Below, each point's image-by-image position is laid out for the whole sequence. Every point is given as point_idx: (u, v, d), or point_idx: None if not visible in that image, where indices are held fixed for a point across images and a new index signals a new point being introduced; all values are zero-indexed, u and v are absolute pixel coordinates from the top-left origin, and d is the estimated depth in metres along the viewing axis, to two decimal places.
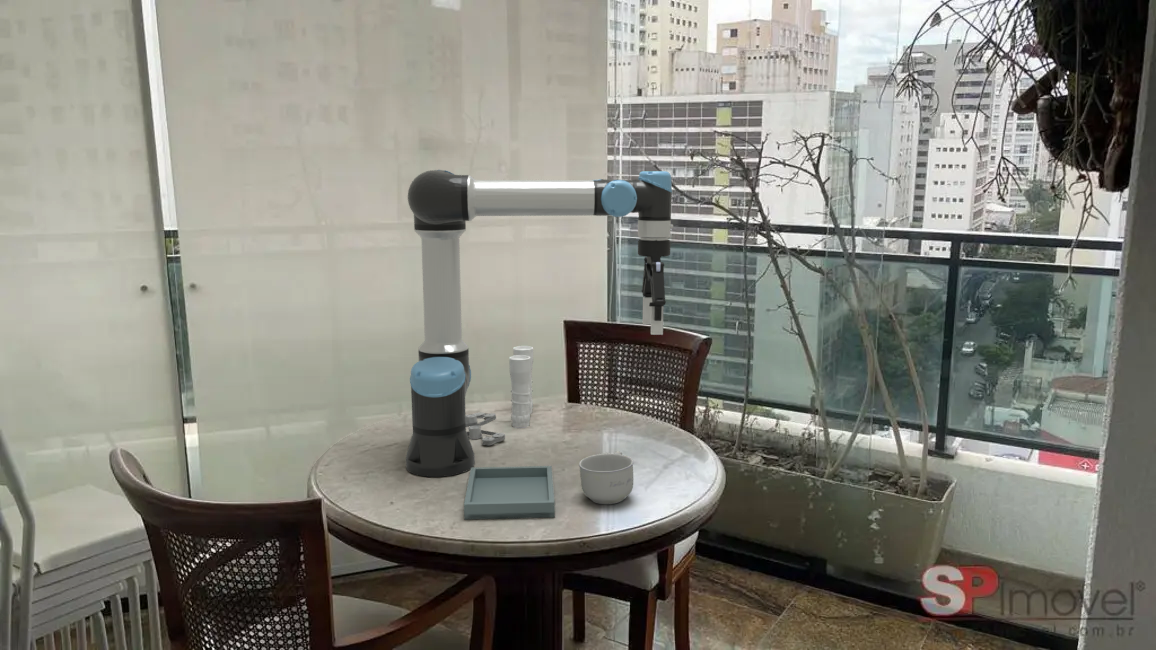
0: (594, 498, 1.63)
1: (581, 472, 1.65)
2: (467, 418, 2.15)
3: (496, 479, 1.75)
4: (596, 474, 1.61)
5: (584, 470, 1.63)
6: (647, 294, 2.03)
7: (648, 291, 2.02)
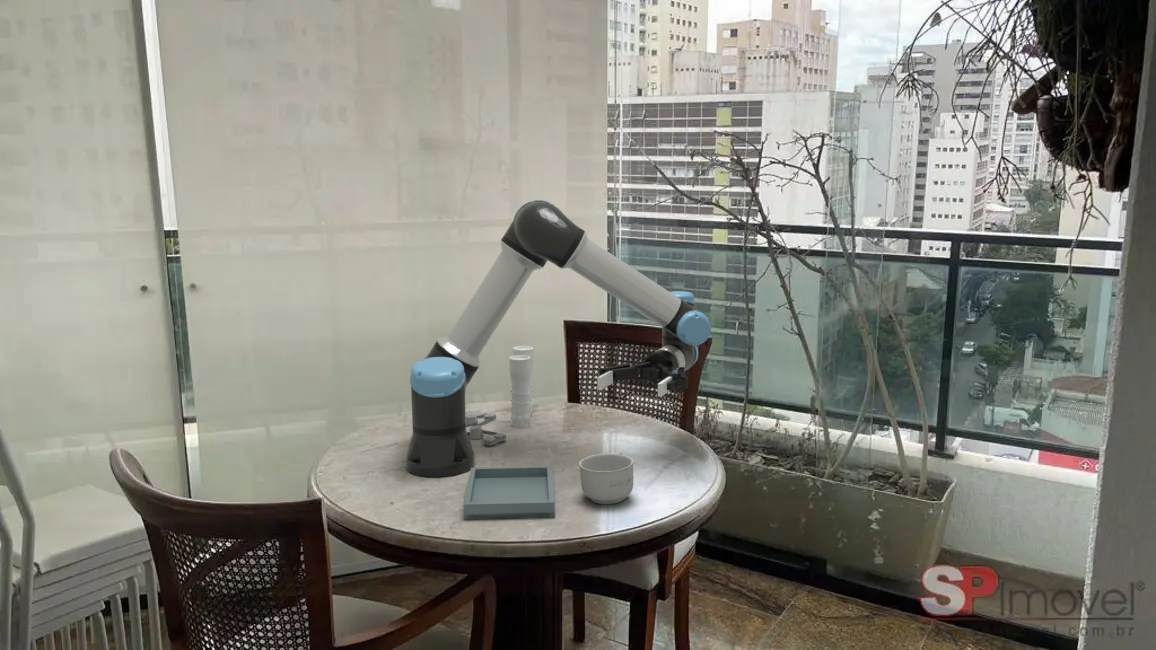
0: (594, 498, 1.63)
1: (581, 472, 1.65)
2: (467, 418, 2.15)
3: (496, 479, 1.75)
4: (596, 474, 1.61)
5: (584, 470, 1.63)
6: None
7: (616, 374, 1.84)
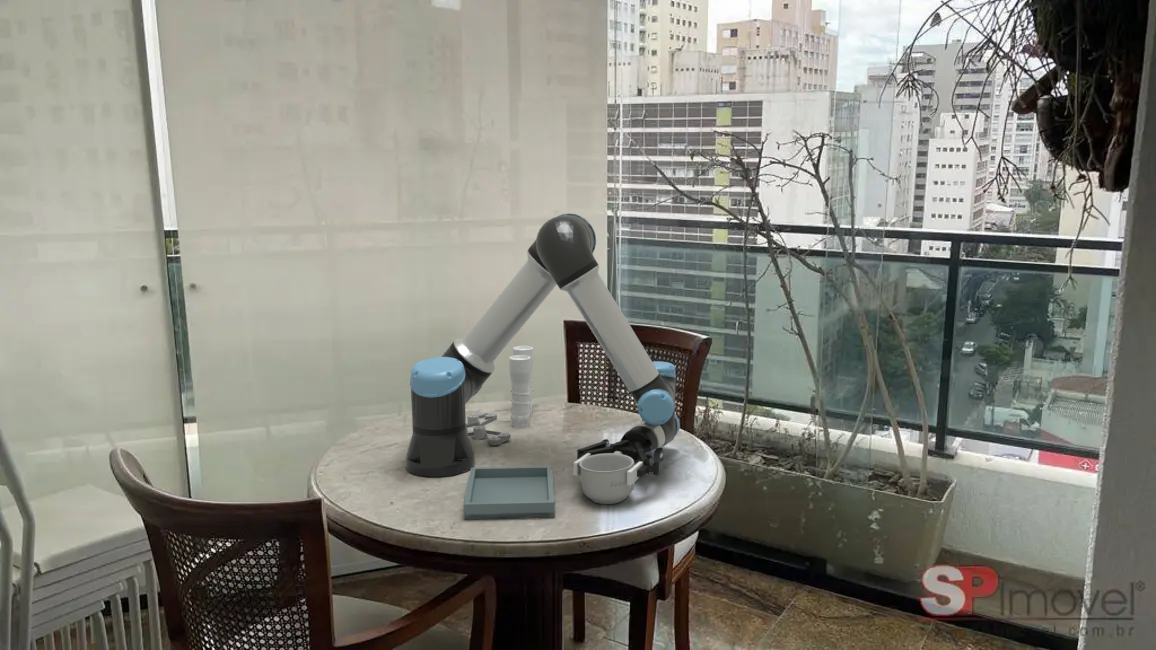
0: (595, 498, 1.63)
1: (581, 472, 1.65)
2: (469, 418, 2.15)
3: (496, 479, 1.75)
4: (597, 474, 1.61)
5: (585, 470, 1.63)
6: None
7: None
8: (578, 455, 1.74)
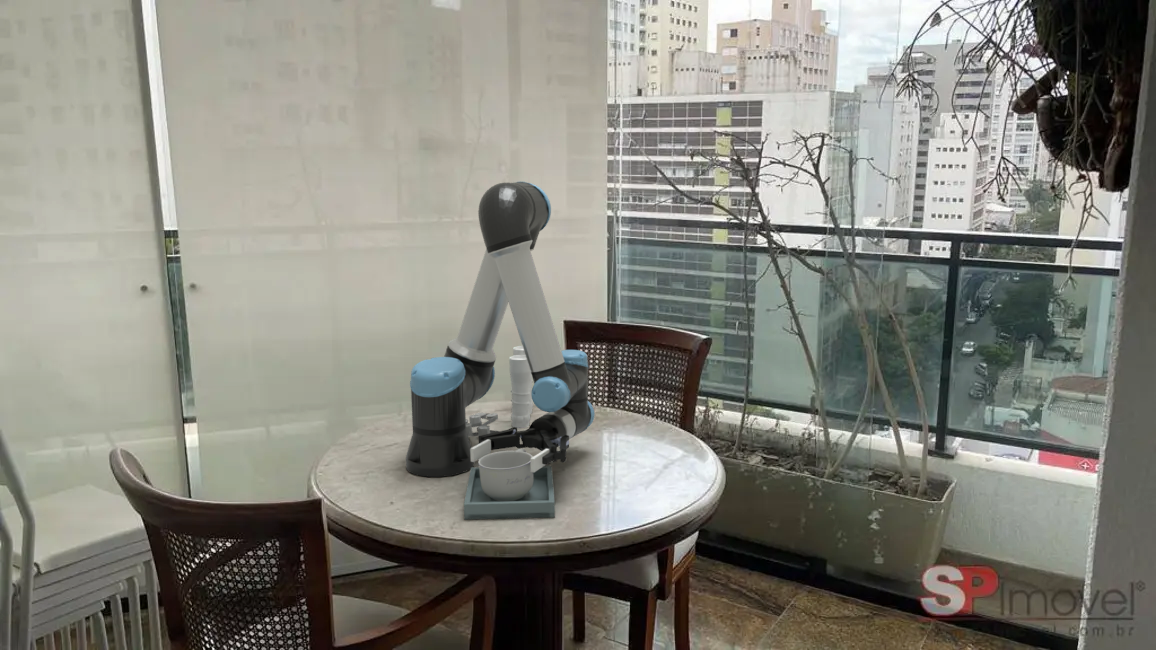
0: (492, 495, 1.62)
1: (480, 469, 1.63)
2: (472, 418, 2.15)
3: None
4: (493, 471, 1.60)
5: (482, 467, 1.62)
6: None
7: (495, 443, 1.73)
8: (479, 441, 1.74)
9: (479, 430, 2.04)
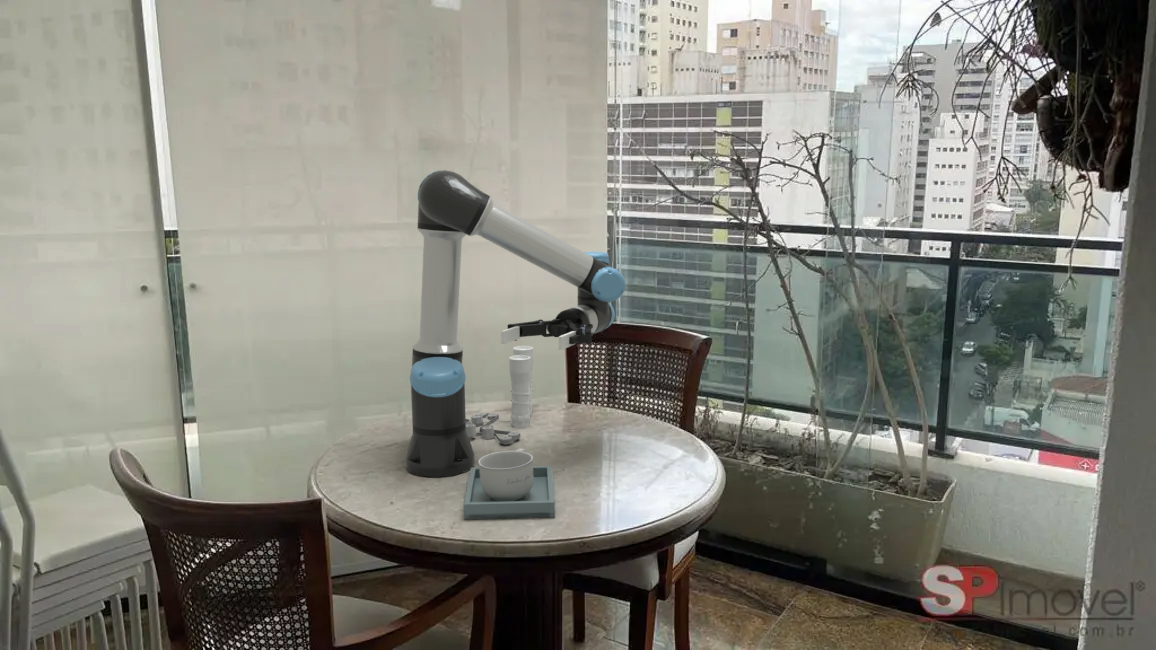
0: (492, 496, 1.62)
1: (480, 469, 1.63)
2: (474, 419, 2.15)
3: None
4: (493, 471, 1.60)
5: (482, 467, 1.62)
6: None
7: (524, 330, 1.83)
8: None
9: (483, 430, 2.04)
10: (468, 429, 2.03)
